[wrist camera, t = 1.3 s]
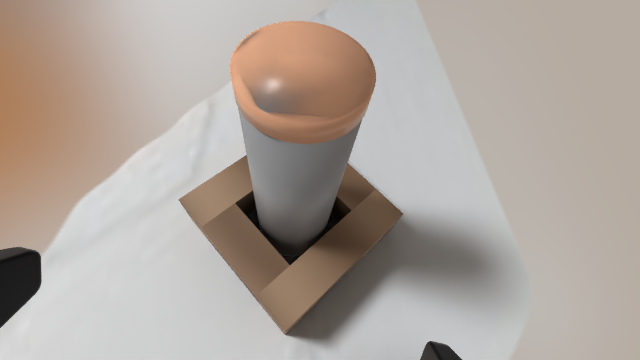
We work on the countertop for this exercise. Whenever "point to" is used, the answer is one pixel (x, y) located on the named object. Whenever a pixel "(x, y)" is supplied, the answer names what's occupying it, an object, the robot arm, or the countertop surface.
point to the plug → (299, 123)
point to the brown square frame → (264, 260)
